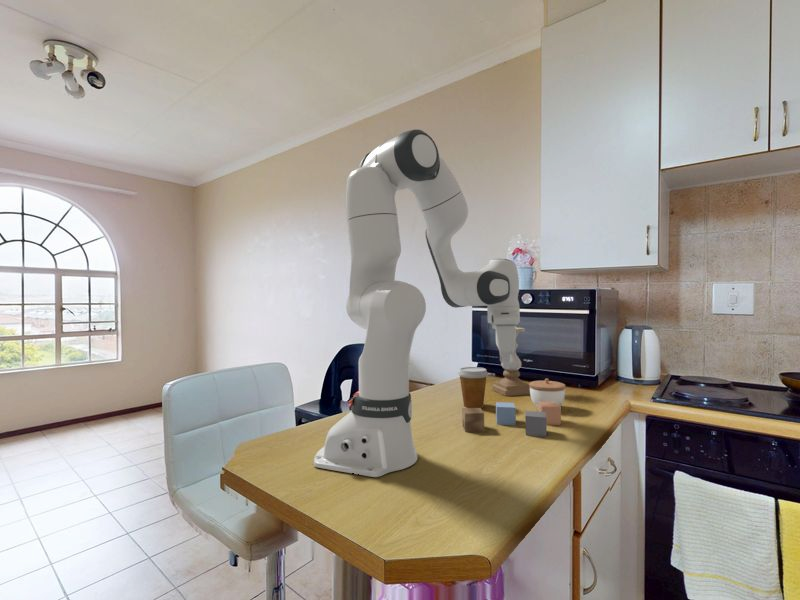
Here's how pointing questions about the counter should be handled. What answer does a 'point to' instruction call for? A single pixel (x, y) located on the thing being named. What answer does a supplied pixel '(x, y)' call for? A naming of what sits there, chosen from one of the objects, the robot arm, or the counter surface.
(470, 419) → the walnut cube
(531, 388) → the lidded jar
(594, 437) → the counter surface
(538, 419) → the charcoal cube
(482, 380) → the disposable coffee cup
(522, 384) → the candle holder
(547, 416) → the terracotta cube
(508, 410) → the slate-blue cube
